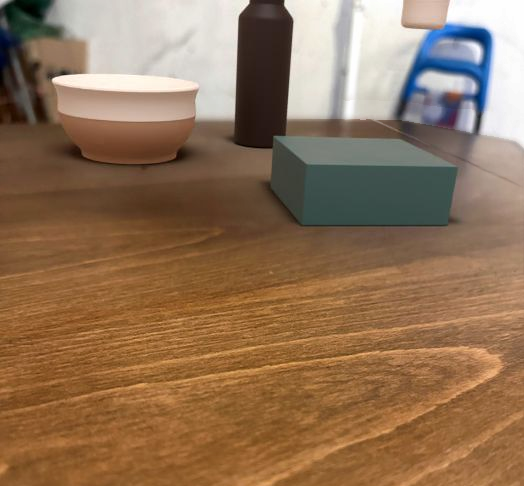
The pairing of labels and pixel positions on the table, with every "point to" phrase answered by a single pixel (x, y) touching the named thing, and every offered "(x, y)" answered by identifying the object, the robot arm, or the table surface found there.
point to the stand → (361, 181)
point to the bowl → (126, 115)
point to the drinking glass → (424, 14)
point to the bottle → (262, 72)
